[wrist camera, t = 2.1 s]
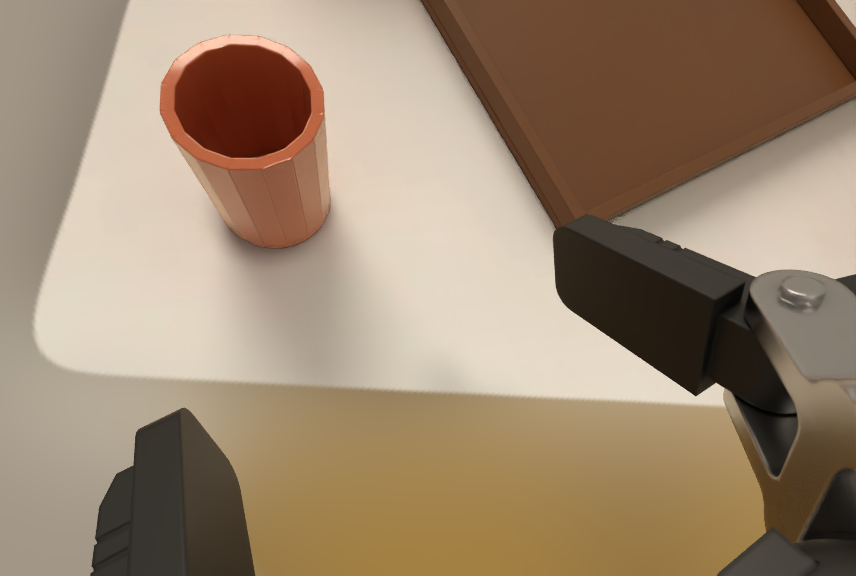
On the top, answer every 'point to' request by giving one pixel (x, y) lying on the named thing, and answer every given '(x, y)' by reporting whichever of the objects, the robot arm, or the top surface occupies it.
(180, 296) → the top surface
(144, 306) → the top surface
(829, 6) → the tray
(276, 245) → the reddish brown cup
